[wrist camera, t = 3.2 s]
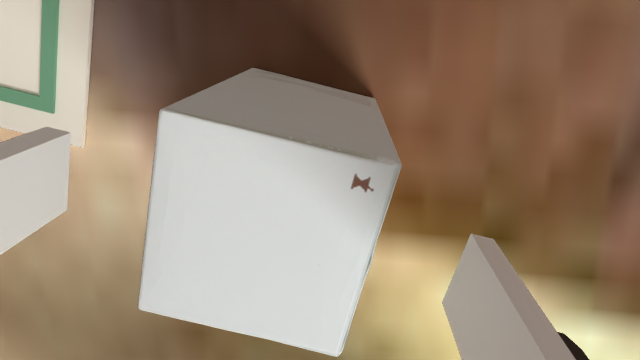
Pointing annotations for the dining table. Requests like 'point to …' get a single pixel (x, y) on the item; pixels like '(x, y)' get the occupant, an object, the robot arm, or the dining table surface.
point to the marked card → (45, 65)
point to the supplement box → (267, 208)
